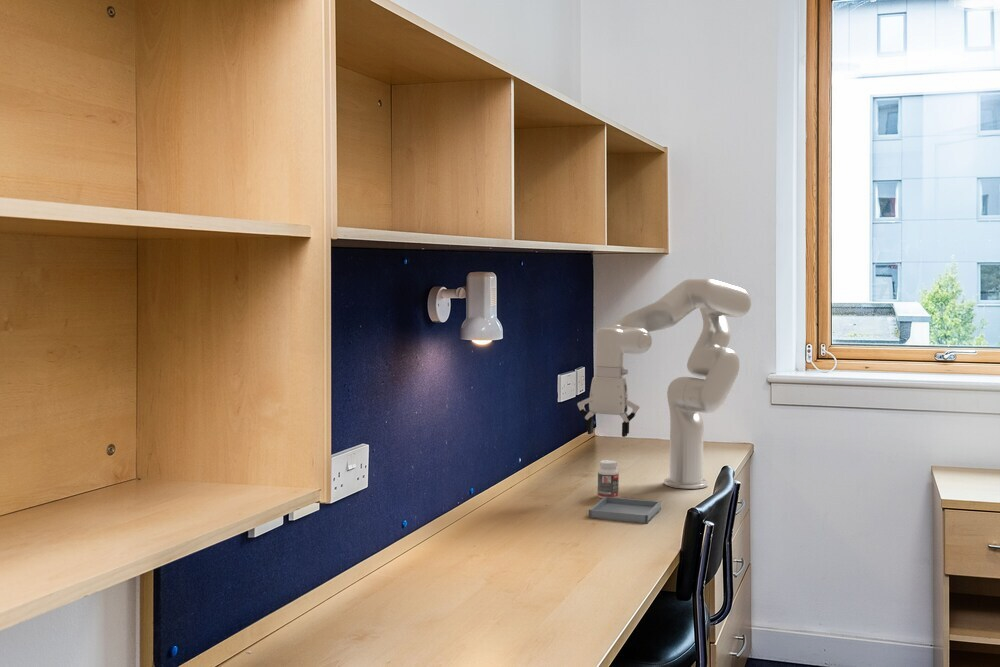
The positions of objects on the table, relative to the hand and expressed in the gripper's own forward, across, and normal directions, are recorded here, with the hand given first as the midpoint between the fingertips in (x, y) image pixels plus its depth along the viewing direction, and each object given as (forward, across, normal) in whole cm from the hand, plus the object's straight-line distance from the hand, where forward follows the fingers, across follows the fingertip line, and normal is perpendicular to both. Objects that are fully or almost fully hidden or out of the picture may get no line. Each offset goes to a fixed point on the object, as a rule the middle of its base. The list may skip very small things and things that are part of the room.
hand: (607, 434), depth 266 cm
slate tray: (+18, -9, +15) cm, 25 cm away
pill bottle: (+18, 0, -1) cm, 18 cm away
